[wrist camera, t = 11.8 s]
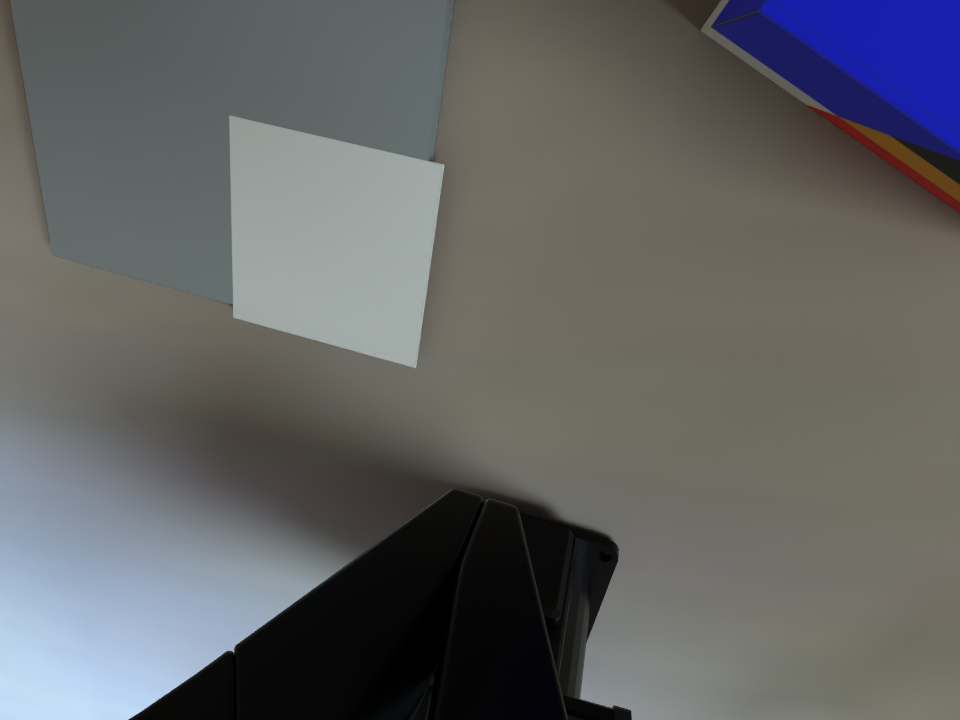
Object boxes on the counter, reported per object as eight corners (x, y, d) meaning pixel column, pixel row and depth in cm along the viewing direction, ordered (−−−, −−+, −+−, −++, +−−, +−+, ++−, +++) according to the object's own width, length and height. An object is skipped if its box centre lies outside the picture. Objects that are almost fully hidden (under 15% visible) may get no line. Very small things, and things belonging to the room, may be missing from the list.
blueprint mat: (420, 360, 22) (415, 368, 22) (67, 263, 24) (54, 268, 24) (526, -378, 14) (521, -395, 13) (-42, -440, 15) (-67, -457, 15)
